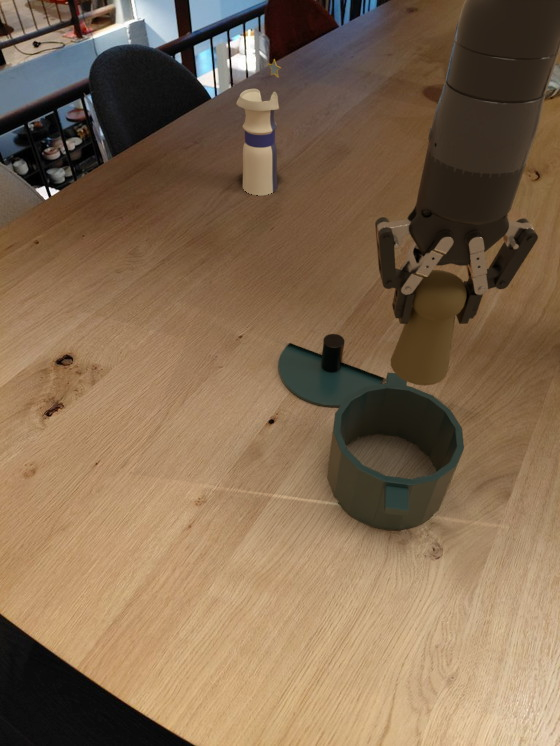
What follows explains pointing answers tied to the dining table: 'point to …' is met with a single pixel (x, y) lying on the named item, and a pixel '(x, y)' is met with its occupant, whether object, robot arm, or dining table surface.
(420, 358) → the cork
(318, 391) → the lid
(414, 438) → the pot
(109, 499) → the dining table surface
